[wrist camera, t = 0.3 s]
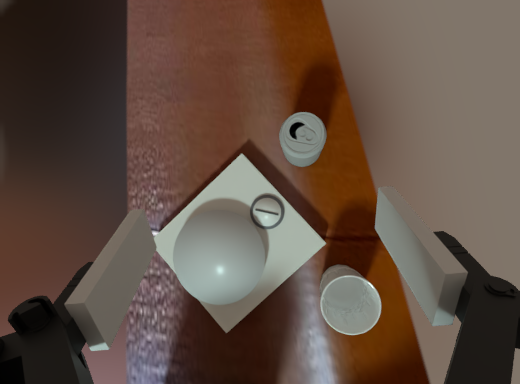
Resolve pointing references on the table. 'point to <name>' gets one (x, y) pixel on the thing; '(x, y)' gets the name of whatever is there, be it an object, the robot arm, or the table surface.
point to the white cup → (348, 300)
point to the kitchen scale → (236, 243)
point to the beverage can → (302, 138)
